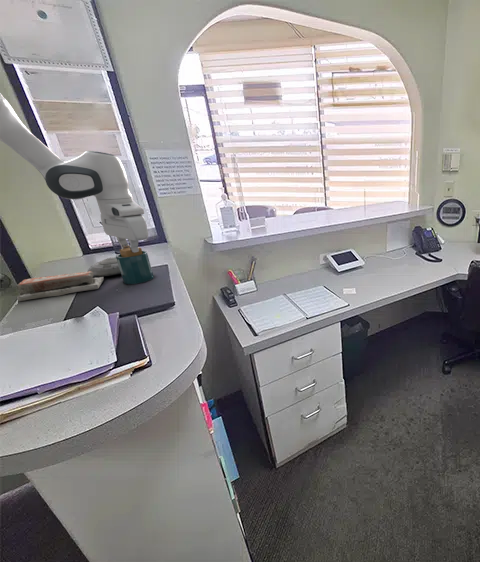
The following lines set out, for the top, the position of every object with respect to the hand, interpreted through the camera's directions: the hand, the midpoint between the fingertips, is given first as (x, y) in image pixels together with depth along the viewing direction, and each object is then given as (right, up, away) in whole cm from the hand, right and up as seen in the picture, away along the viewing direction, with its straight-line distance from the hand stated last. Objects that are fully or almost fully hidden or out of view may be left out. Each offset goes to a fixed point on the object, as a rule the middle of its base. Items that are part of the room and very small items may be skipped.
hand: (130, 251), depth 101 cm
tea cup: (0, -9, +4) cm, 10 cm away
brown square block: (0, -1, +1) cm, 2 cm away
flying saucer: (-14, -7, +11) cm, 19 cm away
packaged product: (-16, -13, -5) cm, 21 cm away
